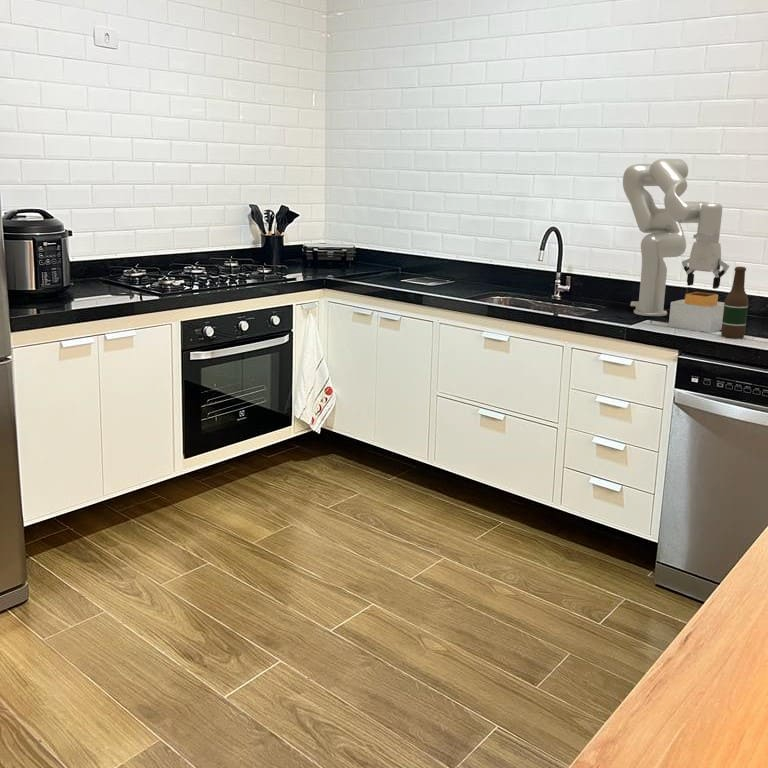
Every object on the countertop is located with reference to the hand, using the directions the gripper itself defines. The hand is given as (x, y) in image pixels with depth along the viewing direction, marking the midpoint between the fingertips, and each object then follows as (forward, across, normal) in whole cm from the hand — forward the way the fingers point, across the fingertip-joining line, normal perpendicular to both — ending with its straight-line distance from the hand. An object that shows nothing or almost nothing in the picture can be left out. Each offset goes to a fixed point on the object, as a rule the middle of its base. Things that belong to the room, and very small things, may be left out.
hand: (702, 286), depth 301 cm
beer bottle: (+15, +16, -7) cm, 23 cm away
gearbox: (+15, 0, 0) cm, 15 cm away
